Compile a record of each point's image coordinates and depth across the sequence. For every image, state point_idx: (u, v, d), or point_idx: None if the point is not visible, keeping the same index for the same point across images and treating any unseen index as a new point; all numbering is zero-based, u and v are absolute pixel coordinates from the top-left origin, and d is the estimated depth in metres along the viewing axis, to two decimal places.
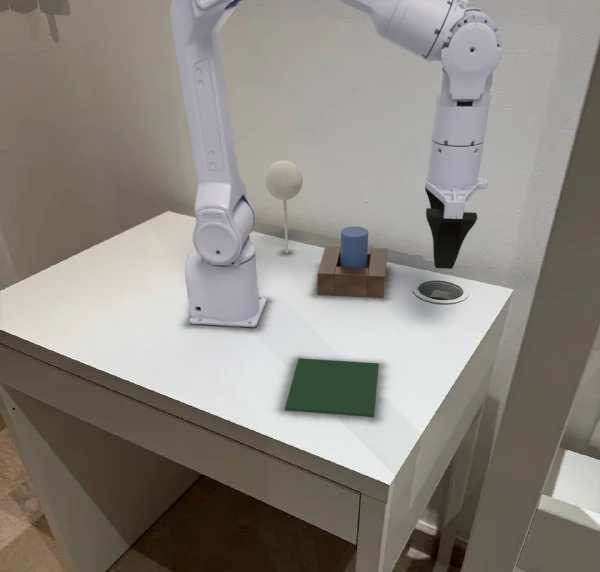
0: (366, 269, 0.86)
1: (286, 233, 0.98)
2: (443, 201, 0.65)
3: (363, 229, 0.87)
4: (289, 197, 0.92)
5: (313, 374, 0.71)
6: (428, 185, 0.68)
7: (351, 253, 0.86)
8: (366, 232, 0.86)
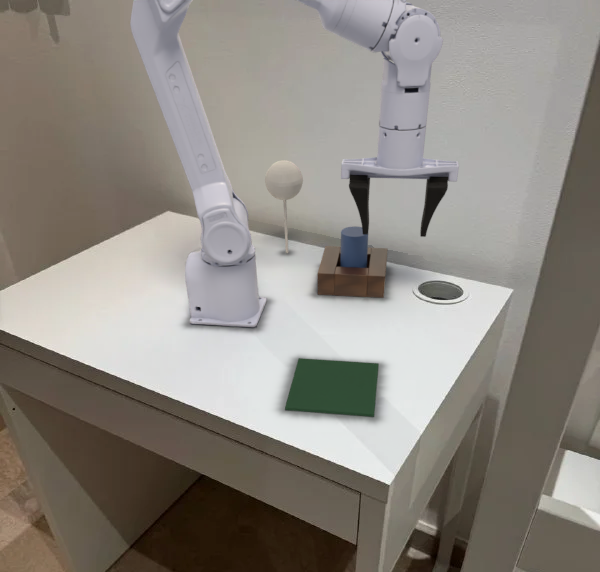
0: (366, 269, 0.86)
1: (286, 233, 0.98)
2: (446, 170, 0.73)
3: None
4: (289, 197, 0.92)
5: (313, 374, 0.71)
6: (410, 171, 0.72)
7: (351, 253, 0.86)
8: None
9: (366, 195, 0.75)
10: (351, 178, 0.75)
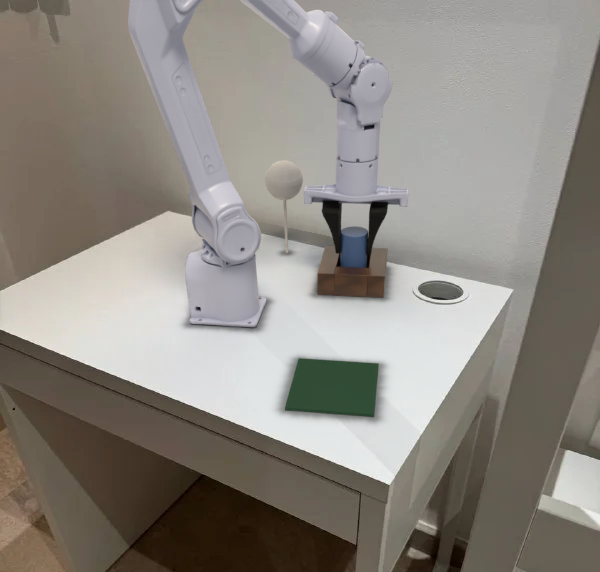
0: (366, 269, 0.86)
1: (286, 233, 0.98)
2: (397, 196, 0.81)
3: (363, 229, 0.87)
4: (289, 197, 0.92)
5: (313, 374, 0.71)
6: (365, 198, 0.80)
7: (350, 253, 0.86)
8: (366, 232, 0.86)
9: (337, 219, 0.83)
10: (324, 203, 0.84)
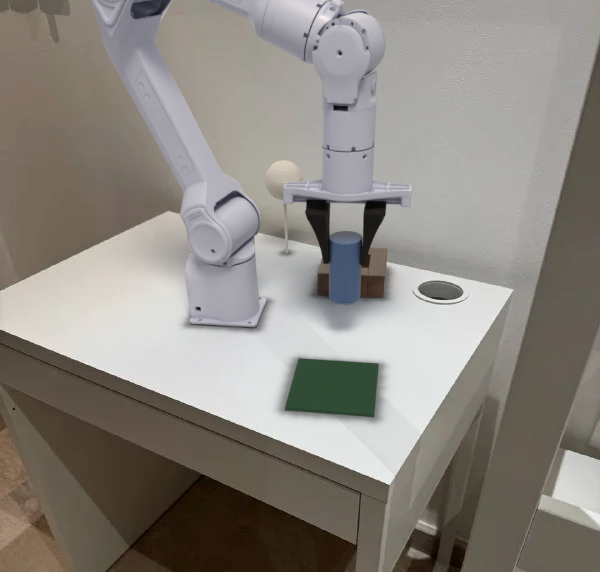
0: (366, 269, 0.86)
1: (286, 233, 0.98)
2: (398, 194, 0.66)
3: (356, 234, 0.71)
4: None
5: (313, 374, 0.71)
6: (358, 196, 0.65)
7: (341, 263, 0.71)
8: (360, 238, 0.70)
9: (324, 222, 0.68)
10: (308, 203, 0.68)
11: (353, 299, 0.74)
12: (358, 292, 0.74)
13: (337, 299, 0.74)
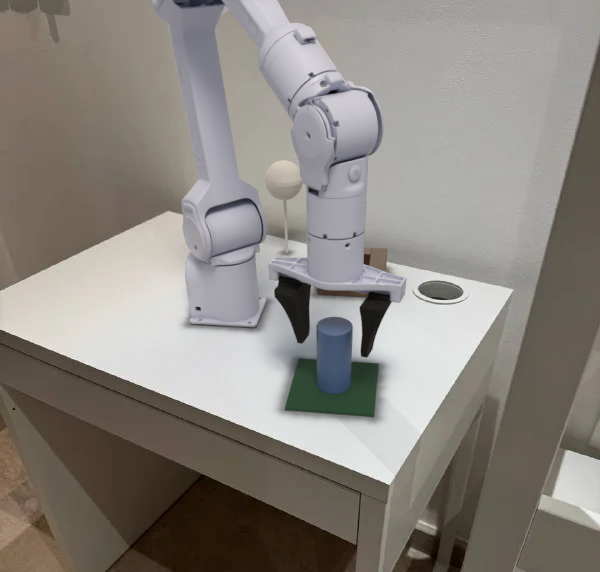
0: None
1: (286, 233, 0.98)
2: (386, 288, 0.58)
3: (347, 323, 0.65)
4: (289, 197, 0.92)
5: (313, 374, 0.71)
6: (339, 286, 0.58)
7: (325, 353, 0.65)
8: (348, 329, 0.64)
9: (293, 303, 0.62)
10: (280, 280, 0.63)
11: (339, 390, 0.68)
12: (346, 383, 0.68)
13: (322, 388, 0.68)
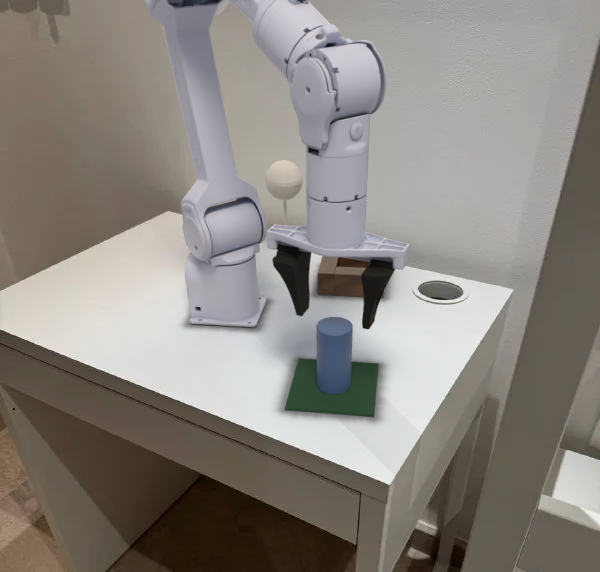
0: None
1: None
2: (389, 255, 0.56)
3: (347, 323, 0.65)
4: (289, 197, 0.92)
5: (313, 374, 0.71)
6: (339, 252, 0.56)
7: (325, 353, 0.65)
8: (348, 329, 0.64)
9: (292, 273, 0.60)
10: (279, 249, 0.61)
11: (339, 390, 0.68)
12: (346, 383, 0.68)
13: (322, 388, 0.68)
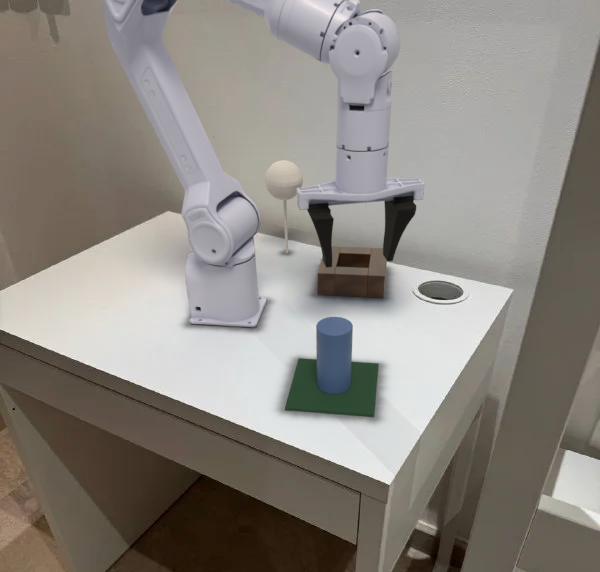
0: (366, 269, 0.86)
1: (286, 233, 0.98)
2: (413, 189, 0.67)
3: (347, 323, 0.65)
4: (289, 197, 0.92)
5: (313, 374, 0.71)
6: (379, 194, 0.65)
7: (325, 353, 0.65)
8: (348, 329, 0.64)
9: (331, 225, 0.67)
10: (311, 208, 0.67)
11: (339, 390, 0.68)
12: (346, 383, 0.68)
13: (322, 388, 0.68)
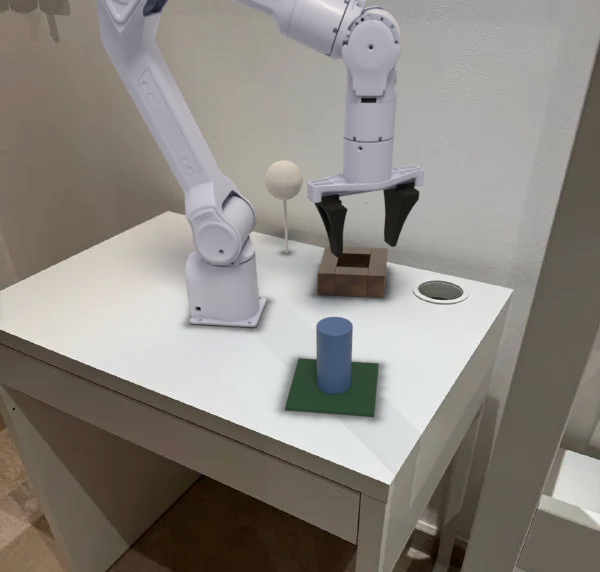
0: (366, 269, 0.86)
1: (286, 233, 0.98)
2: (414, 175, 0.71)
3: (347, 323, 0.65)
4: (289, 197, 0.92)
5: (313, 374, 0.71)
6: (388, 182, 0.68)
7: (325, 353, 0.65)
8: (348, 329, 0.64)
9: (344, 215, 0.69)
10: (323, 200, 0.69)
11: (339, 390, 0.68)
12: (346, 383, 0.68)
13: (322, 388, 0.68)
